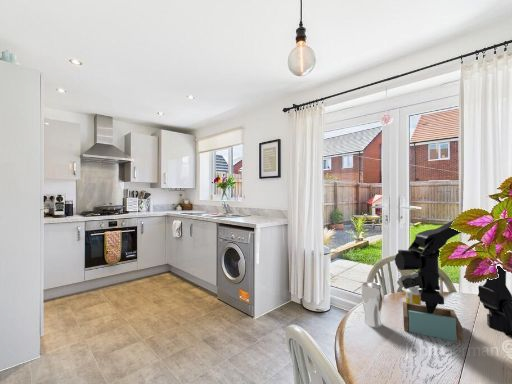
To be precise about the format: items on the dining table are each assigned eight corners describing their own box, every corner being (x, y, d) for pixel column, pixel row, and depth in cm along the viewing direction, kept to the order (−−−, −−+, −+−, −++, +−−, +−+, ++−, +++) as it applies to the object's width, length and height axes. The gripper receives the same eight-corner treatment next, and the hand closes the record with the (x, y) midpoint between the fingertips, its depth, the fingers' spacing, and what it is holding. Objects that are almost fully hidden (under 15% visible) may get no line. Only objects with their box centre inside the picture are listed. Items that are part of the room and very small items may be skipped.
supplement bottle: (404, 307, 108) (403, 285, 109) (409, 304, 112) (408, 282, 112) (418, 311, 104) (417, 288, 104) (422, 308, 108) (422, 285, 108)
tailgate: (455, 339, 82) (455, 318, 82) (456, 341, 81) (455, 319, 81) (409, 330, 88) (408, 310, 89) (409, 331, 88) (408, 311, 88)
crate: (454, 326, 92) (453, 309, 92) (462, 345, 81) (462, 326, 81) (403, 317, 100) (402, 301, 100) (404, 333, 88) (403, 316, 88)
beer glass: (385, 331, 90) (384, 289, 90) (364, 330, 91) (363, 288, 91) (380, 322, 96) (379, 282, 97) (361, 320, 98) (359, 281, 98)
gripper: (401, 260, 101) (402, 300, 100) (402, 273, 84) (403, 320, 84) (435, 263, 95) (437, 305, 95) (443, 278, 79) (445, 328, 79)
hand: (429, 314), depth 88 cm, fingers closed
